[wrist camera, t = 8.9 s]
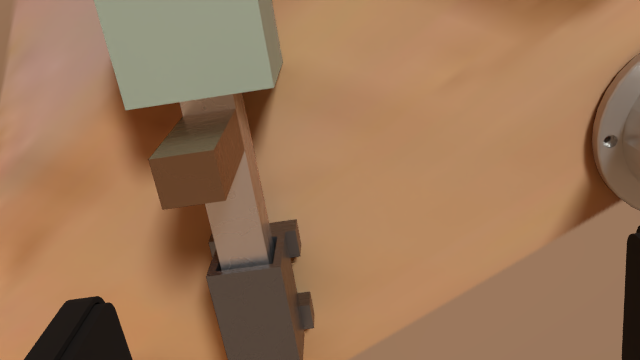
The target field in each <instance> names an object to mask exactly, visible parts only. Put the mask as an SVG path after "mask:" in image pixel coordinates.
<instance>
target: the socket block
mask: <svg viewBox="0 0 640 360" xmlns="http://www.w3.org/2000/svg"><path fill="white" fill-rule="evenodd" d="M94 2H95V6H96V9H97V13H98V16H99V20H100V23H101V27H102V30H103V34H104V37H105V41H106V44H107V48H108V51H109V55H110V58H111V62H112V65H113V69H114V72H115V75H116V79H117V82H118V86H119V89H120V93H121V96H122V100H123V103H124V107H125V110H131V109H138V108H144V107H151V106H157V105H164V104H171V103H177V102H184V101H190V100H197V99H203V98H210V97H216V96H223V95H230V94H236V93H243V92H249V91H256V90H262V89H269V88H274V87H275V84H276V81H277V78H278V75H279V72H280V69H281V66H282V63H283V61H282V55H281V50H280V44H279V38H278V33H277V27H276V22H275V16H274V10H273V5H272V0H94Z"/></svg>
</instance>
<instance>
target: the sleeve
mask: <svg viewBox="0 0 640 360" xmlns="http://www.w3.org/2000/svg"><path fill="white" fill-rule="evenodd" d="M269 224H270V229H271V234H272V239H273V244H274V248H275V255H274V261H273V264H268V265H260V266H253V267H245V268H238V269H230V270H223V271H222V270H221V266H220V262H219V258H218V254H217V250H216V246H215V242H214V238H213V234H212V235H211V237H210V240H209V246H210V250H211V254H212V258H213V259H212V261H211V264H210V267H209V270H208V273H207V276H206V278H207V282H208V286H209V290H210V293H211V297H212V301H213V305H214V309H215V312H216V316H217V320H218V324H219V328H220V331H221V335H222V339H223V343H224V347H225V350H226V354H227V358H228V360H303V349H304V329H310V328H314V310H313V305H312V299H311V294H310V292H305V293H297V289H296V284H295V279H294V274H293V269H292V264H291V259H290V258H291V257H299V256H300V253H301V241H300V236H299V230H298V225H297V220H289V221H282V222H275V223H269Z"/></svg>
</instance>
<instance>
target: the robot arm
mask: <svg viewBox="0 0 640 360" xmlns="http://www.w3.org/2000/svg"><path fill="white" fill-rule="evenodd" d="M607 136H608V137H607ZM606 137H607V139H606V140H604V139H605V138H606ZM592 147H593V155H594V160H595V163H596V166H597V168H598V171H599V174H600V175H601V177H602V178H603V180H604V181H605V183H606V184H607V186H608V187H609V188H610V189H611V190H612V191H613V192H614V193H615V194H616V195H617V196H618V197H619V198H621V199H622V200H623V201H625V202H626V203H628V204H629V205H630V206H631V207H633V208H635V209H638V210H640V53H639V54H638V55H637V56H635V57H634V58H633V59H632V60H631V61H630V62H629V63H628V64H627V65H626V66H625V67H624V68H623V69H622V70H621V71H620V72H619V73H618V74H617V76H616V77H615V79H614V80H613V82H612V83H611V84H610V86H609V87H608V89H607V90H606V92H605V94H604V96H603V98H602V101H601V103H600V105H599V107H598V110H597V113H596V117H595V121H594V125H593V135H592ZM625 277H626V278H625V299H624V321H623V343H622V360H640V226H639V227H638V229H637V232H636V233H635V234H631V235H629V237H628V240H627V254H626V276H625ZM24 360H132V357H131V354H130V351H129V348H128V345H127V342H126V339H125V336H124V333H123V331H122V328H121V325H120V322H119V319H118V316H117V313H116V310H115V308H114V306H113V305H112V304H111V303H105V301H104V300H103V299H102V298H101V297H99V296H96V297H88V298H81V299H73V300H68V301H66V302H65V303H64V304H63V306H62V307H61V308H60V310H59V311H58V313H57V314H56V315H55V317H54V318H53V320H52V321H51V322H50V324H49V325H48V327H47V328H46V329H45V331H44V332H43V334H42V335H41V336H40V338H39V339H38V341H37V342H36V343H35V345H34V346H33V348H32V349H31V350H30V352H29V353H28V355H27V356H26V357H25V359H24Z"/></svg>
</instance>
